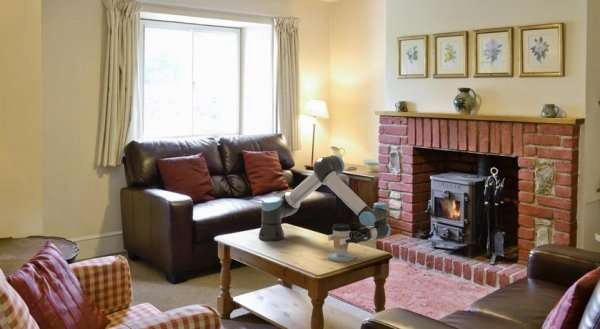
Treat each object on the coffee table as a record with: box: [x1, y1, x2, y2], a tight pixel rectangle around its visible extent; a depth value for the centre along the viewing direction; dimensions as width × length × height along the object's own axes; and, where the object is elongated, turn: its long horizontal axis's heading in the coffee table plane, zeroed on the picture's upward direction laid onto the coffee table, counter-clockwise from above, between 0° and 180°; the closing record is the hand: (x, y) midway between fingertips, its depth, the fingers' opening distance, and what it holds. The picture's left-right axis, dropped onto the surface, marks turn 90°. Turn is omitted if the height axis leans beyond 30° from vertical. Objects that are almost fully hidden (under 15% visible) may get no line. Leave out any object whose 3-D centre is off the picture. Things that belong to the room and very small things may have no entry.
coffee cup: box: [331, 223, 352, 255], centre depth 303 cm, size 10×10×15 cm
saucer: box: [327, 251, 355, 263], centre depth 304 cm, size 14×14×1 cm
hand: (334, 240), depth 300 cm, fingers closed on coffee cup, 9 cm apart
